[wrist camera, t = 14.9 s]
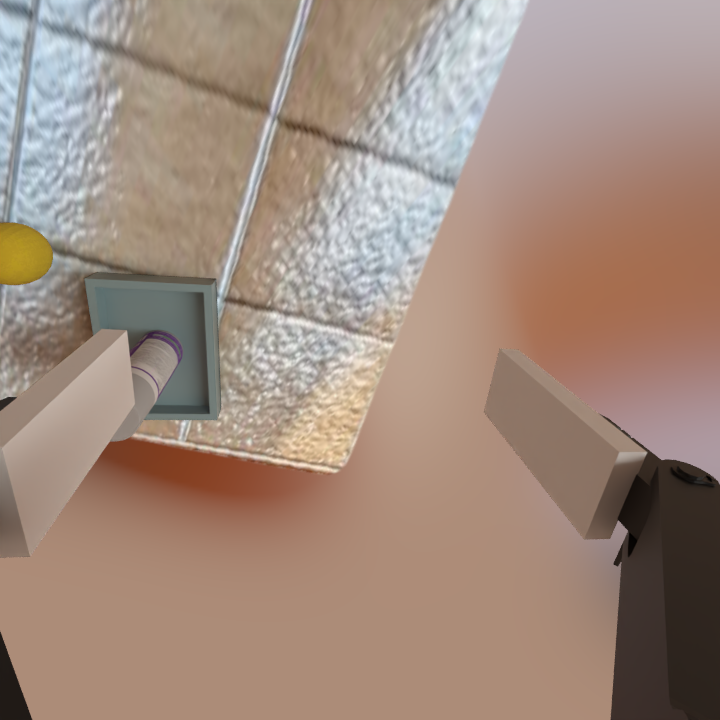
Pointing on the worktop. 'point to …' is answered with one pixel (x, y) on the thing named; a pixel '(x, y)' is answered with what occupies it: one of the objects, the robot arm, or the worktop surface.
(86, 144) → the worktop surface
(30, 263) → the lemon
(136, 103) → the worktop surface
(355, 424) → the worktop surface
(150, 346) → the container
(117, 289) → the tray
